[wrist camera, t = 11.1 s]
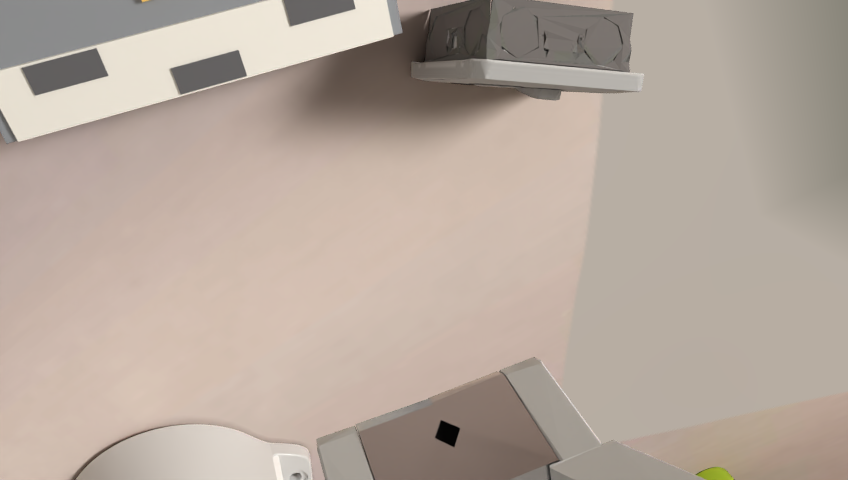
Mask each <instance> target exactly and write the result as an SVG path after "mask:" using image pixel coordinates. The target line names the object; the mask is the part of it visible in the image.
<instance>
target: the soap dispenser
mask: <svg viewBox="0 0 848 480" xmlns="http://www.w3.org/2000/svg"><path fill="white" fill-rule="evenodd" d="M697 476H699V477H701V478H704V479H706V480H734V479H733V478H732V476H731V475H730V474H729V473H728V472H727V471H726V470H725V469H723V468H719V467H715V468H710V469H706V470H704V471H702V472H700V473H698V474H697Z"/></svg>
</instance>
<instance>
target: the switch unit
mask: <svg viewBox="0 0 848 480" xmlns="http://www.w3.org/2000/svg"><path fill="white" fill-rule="evenodd" d="M400 33H403V32H402V27H401V22H400V16H399V11H398V6H397V1H396V0H0V132H1V134H2V136H3V138H4V139H5V141H6V143H7V144H8V143H11V142H15V141H18V142H20V141H24V140H27V139H31V138H34V137H38V136H41V135H45V134H49V133H52V132H56V131H59V130H63V129H66V128H70V127H74V126H77V125H81V124H84V123H88V122H91V121H95V120H98V119H102V118H106V117H109V116H113V115H116V114H120V113H123V112H127V111H131V110H134V109H138V108H141V107H145V106H148V105H152V104H155V103H159V102H163V101H166V100H170V99H173V98H177V97H180V96H184V95H188V94H191V93H195V92H198V91H202V90H205V89H209V88H212V87H216V86H220V85H223V84H227V83H230V82H234V81H237V80H241V79H245V78H248V77H252V76H255V75H259V74H262V73H266V72H269V71H273V70H277V69H280V68H284V67H287V66H291V65H294V64H298V63H302V62H305V61H309V60H312V59H316V58H319V57H323V56H327V55H330V54H334V53H337V52H341V51H344V50H348V49H351V48H355V47H359V46H362V45H366V44H369V43H373V42H376V41H380V40H384V39H387V38H391V37H394V35H396V34H400Z"/></svg>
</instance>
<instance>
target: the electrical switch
mask: <svg viewBox="0 0 848 480" xmlns="http://www.w3.org/2000/svg"><path fill="white" fill-rule="evenodd" d="M514 7H515V8H514ZM632 19H633V13H627V12H619V11H611V10H603V9H596V8H588V7H580V6H572V5H564V4H557V3H549V2H541V1H533V0H492V3H491V14H490V0H469V1H465V2H460V3H456V4H452V5H448V6H443V7H439V8H435V9H431V14H430V29H429V33H428V37H427V44H426V56H425V61H424V62H423V63H420V62H412V61H411V77H412V78H415V79H419V80H423V81H433V82H444V83H453V84H466V85H475V86H487V87H501V88H514V89H516V90H518V91H520V92H522V93H524V94H526V95H528V96H530V97H533V98H536V99H545V100H559V99H560V95H561V91H565V92H589V93H623V92H639V91H641V89H642V84H643V77H644V74H640V73H630V70H629V59H630V54H631V44H630V34H631V27H632Z"/></svg>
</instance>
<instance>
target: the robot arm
mask: <svg viewBox="0 0 848 480" xmlns="http://www.w3.org/2000/svg"><path fill="white" fill-rule="evenodd" d="M356 427H357V430H358V432H357V430H356ZM356 427H355V426H352V427H349V428H346V429H343V430H341V431H338V432H335V433H332V434H329V435H326V436H323V437H320V438H318V439H317V451H318V454H319V458H320V462H321V466H322V469H323V473H324V477H325V480H706V479H704V478H701V477H699V476H697V475H694V474H692V473H690V472H687V471H685V470H683V469H680V468H678V467H676V466H673V465H671V464H669V463H666V462H664V461H662V460H659V459H657V458H655V457H652V456H650V455H647V454H645V453H643V452H640V451H638V450H636V449H633V448H631V447H629V446H626V445H624V444H622V443H619V442H617V441H615V440H612V441H609V442H606V443H604V444H602V443H601V442H600V440H599V439H598V438H597V436H596V435H595V433H594V432H593V431H592V429H591V428H590V427H589V425H588V424H587V422H586V421H585V420H584V418H583V417H582V416H581V414H580V413H579V412H578V410H577V409H576V408H575V406H574V405H573V404H572V402H571V401H570V399H569V398H568V397H567V395H566V394H565V393H564V391H563V390H562V389H561V387H560V386H559V385H558V383H557V382H556V380H555V379H554V378H553V376H552V375H551V374H550V372H549V371H548V370H547V368H546V367H545V366H544V364H543V363H542V361H541V360H539V359H537V358H535V357H533V358H530V359H528V360H525V361H522V362H520V363H517V364H515V365H512V366H510V367H507V368H504V369H502V370H500V371H499V372H497V371H496V372H494V373H491V374H489V375H486V376H484V377H481V378H479V379H476V380H473V381H471V382H468V383H466V384H463V385H461V386H458V387H455V388H453V389H450V390H448V391H445V392H443V393H440V394H438V395H435V396H432V397H430V398H428V399H427V400H424V401H421V402H418V403H415V404H412V405H409V406H407V407H404V408H401V409H398V410H395V411H392V412H390V413H387V414H384V415H381V416H378V417H375V418H372V419H370V420H367V421H364V422H361V423H358V424H356ZM358 433H359V435H358ZM359 437H360V438H359ZM360 440H361V441H360ZM361 443H362V444H361ZM362 446H363V447H362ZM363 449H364V450H363ZM364 452H365V453H364ZM294 473H295V474H294ZM76 480H313V478H312V468H311V458H310V453H309V451H308V449H307V448H305V447H303V446H301V445H296V444H287V443H269V442H265V441H262V440H259V439H257V438H255V437H252V436H250V435H248V434H246V433H243V432H241V431H238V430H235V429H231V428H227V427H222V426H216V425H206V424H187V425H176V426H169V427H164V428H159V429H155V430H151V431H148V432H144V433H141V434H139V435H136V436H133V437H131V438H129V439H126V440H124V441H122V442H120V443H118V444H116V445H114V446H113V447H111V448H109V449H108V450H106V451H105V452H103V453H102V454H100V455H99V456H98V457H97V458H95V459H94V460H93V461H92V462H91V463H90V464H89V465H88V466H87V467H86V468H85V469H84V470H83V471H82V472H81V473H80V474H79V476H78V477H77V478H76Z"/></svg>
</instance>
